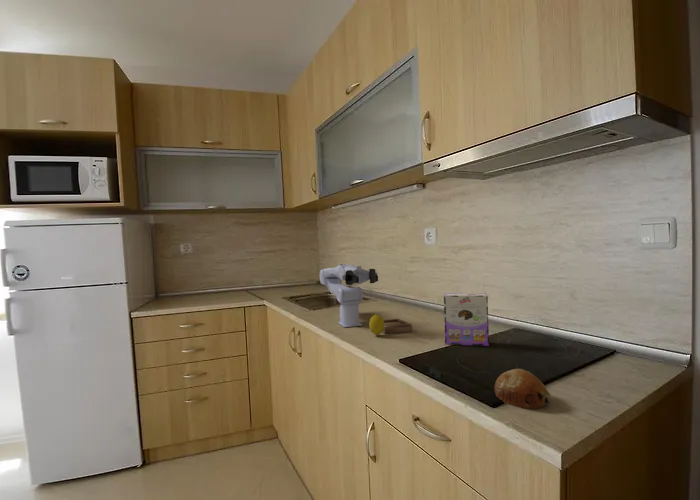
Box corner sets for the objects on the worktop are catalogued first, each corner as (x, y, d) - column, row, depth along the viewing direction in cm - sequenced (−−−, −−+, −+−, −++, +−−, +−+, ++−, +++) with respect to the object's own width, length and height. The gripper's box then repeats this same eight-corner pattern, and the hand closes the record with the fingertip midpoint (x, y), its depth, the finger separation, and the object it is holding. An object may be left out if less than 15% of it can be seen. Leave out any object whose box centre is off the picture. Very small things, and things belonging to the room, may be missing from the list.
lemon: (372, 338, 128) (371, 315, 128) (367, 334, 133) (367, 313, 133) (386, 336, 130) (386, 314, 130) (381, 333, 135) (381, 312, 135)
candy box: (487, 342, 120) (486, 292, 120) (489, 346, 115) (488, 295, 114) (444, 340, 124) (443, 292, 124) (444, 344, 118) (443, 294, 118)
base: (373, 328, 144) (373, 321, 144) (398, 325, 147) (398, 318, 147) (385, 334, 133) (385, 326, 133) (411, 331, 137) (411, 324, 137)
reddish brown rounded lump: (524, 405, 81) (510, 368, 84) (564, 401, 73) (548, 361, 76) (493, 415, 77) (480, 377, 80) (533, 412, 69) (517, 369, 71)
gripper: (337, 265, 142) (348, 269, 129) (371, 263, 146) (385, 267, 134) (337, 283, 142) (349, 288, 129) (371, 280, 147) (385, 286, 134)
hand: (367, 279), depth 132 cm, fingers open, 7 cm apart
